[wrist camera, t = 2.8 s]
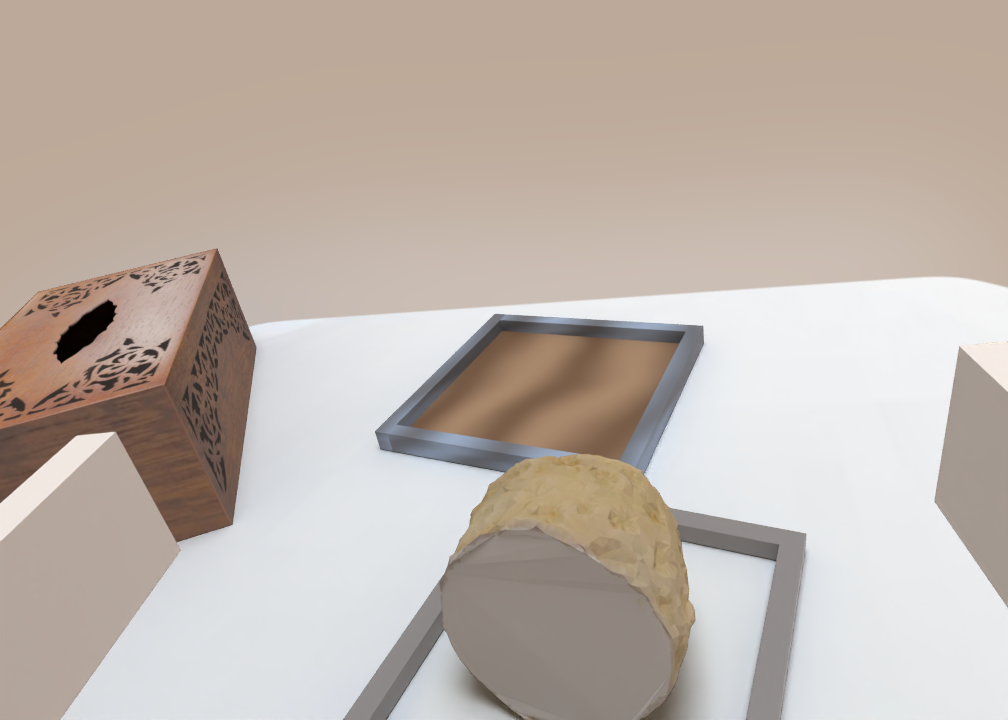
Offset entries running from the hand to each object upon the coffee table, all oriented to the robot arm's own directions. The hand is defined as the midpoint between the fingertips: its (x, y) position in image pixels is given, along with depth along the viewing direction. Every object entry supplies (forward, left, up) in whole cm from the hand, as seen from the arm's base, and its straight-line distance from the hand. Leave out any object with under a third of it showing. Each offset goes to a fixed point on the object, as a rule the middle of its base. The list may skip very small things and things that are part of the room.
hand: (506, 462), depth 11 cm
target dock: (-14, +27, -18) cm, 35 cm away
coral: (-4, +9, -18) cm, 21 cm away
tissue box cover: (-41, +15, -18) cm, 47 cm away
